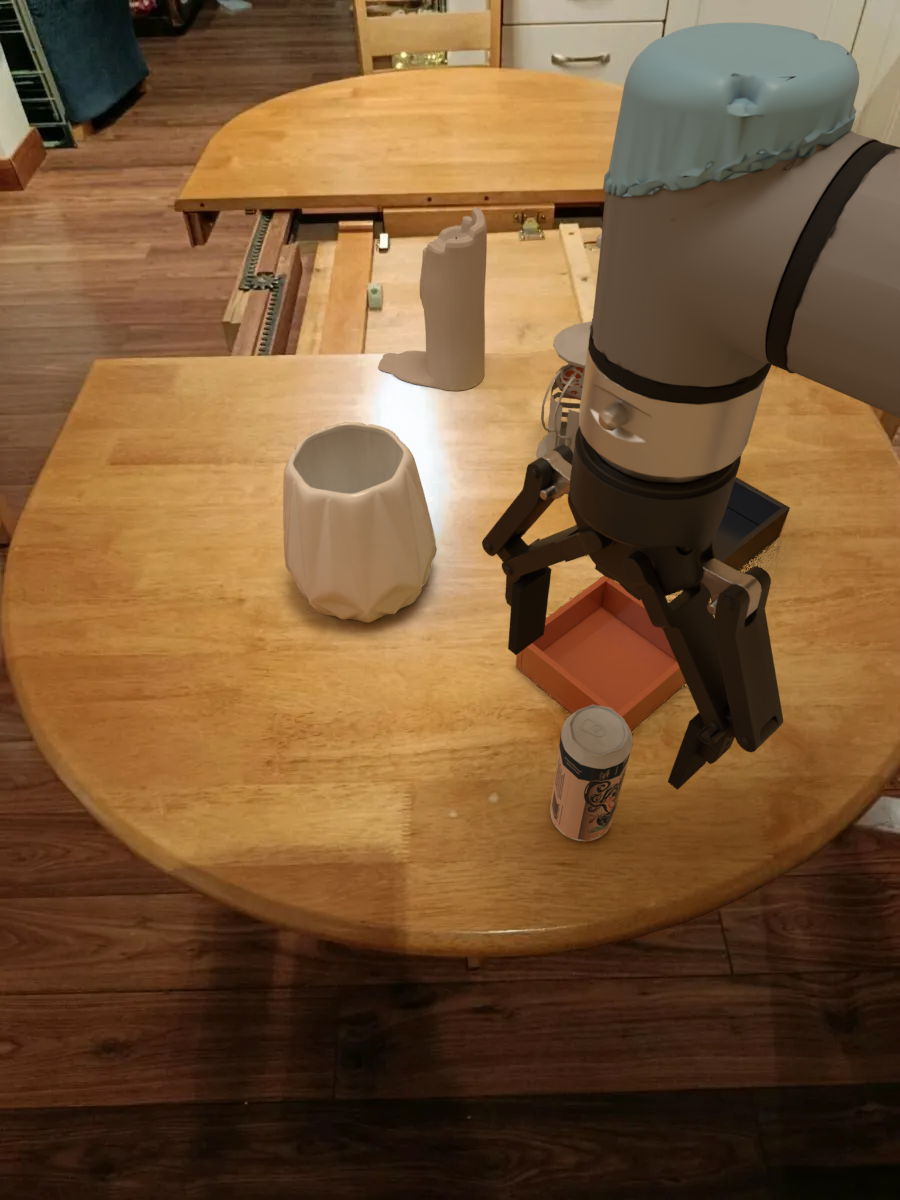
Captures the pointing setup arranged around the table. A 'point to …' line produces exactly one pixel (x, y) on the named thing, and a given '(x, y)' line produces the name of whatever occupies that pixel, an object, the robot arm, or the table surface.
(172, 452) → the table surface
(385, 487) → the vase
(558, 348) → the french press
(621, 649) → the terracotta bin
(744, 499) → the black bin
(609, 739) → the beer can
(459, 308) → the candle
